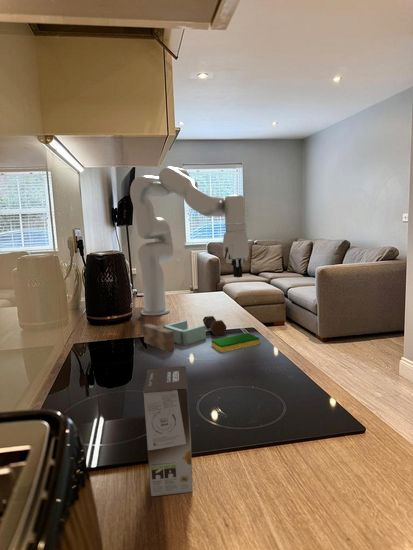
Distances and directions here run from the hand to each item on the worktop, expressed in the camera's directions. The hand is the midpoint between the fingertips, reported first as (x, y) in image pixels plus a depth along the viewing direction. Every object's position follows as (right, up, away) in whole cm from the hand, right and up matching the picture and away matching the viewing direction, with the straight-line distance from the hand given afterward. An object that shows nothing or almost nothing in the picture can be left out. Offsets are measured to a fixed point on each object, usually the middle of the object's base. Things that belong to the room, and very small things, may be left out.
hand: (238, 276), depth 144 cm
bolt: (-10, -20, -5) cm, 23 cm away
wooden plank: (-28, -22, -21) cm, 41 cm away
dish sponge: (-3, -22, -24) cm, 33 cm away
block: (-20, -21, -14) cm, 32 cm away
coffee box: (-17, -31, -84) cm, 91 cm away
